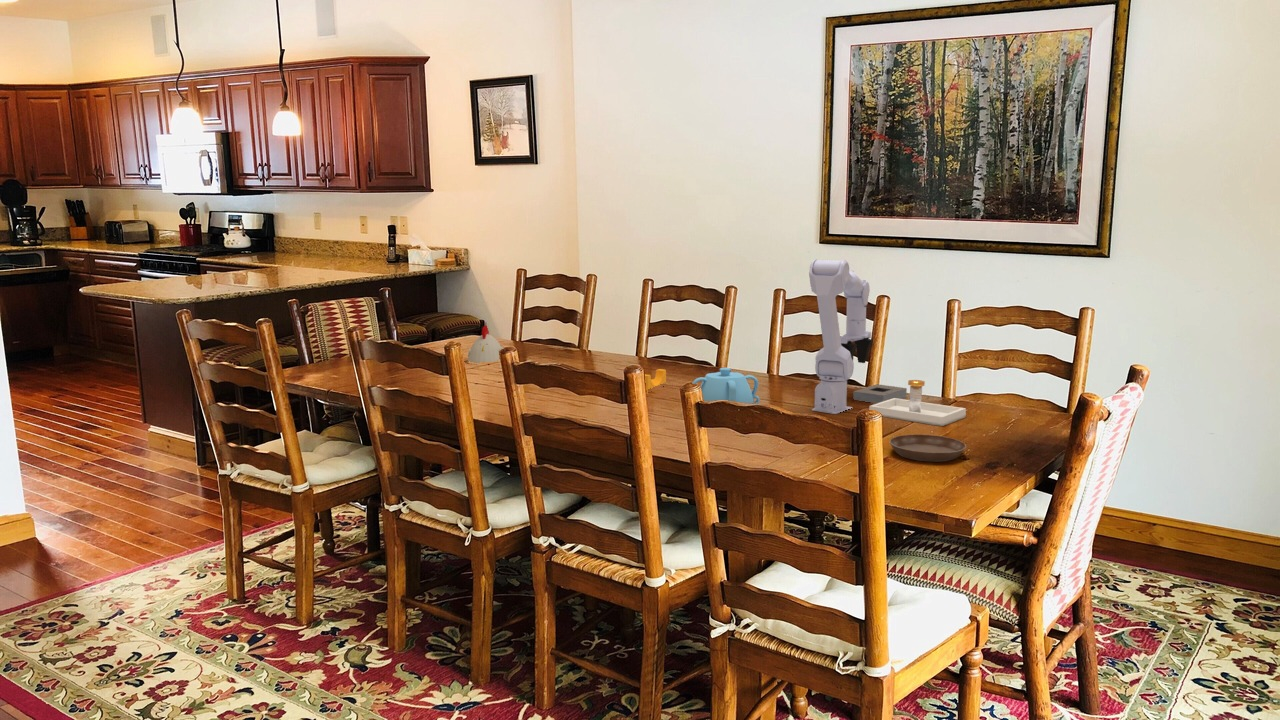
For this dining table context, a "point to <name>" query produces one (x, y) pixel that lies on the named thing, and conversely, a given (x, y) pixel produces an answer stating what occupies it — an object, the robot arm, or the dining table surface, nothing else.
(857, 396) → the block
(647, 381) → the pipe clamp
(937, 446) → the plant saucer
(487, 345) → the kitchen timer
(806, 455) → the dining table surface
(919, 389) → the gold capped clear cylinder
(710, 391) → the decorative pot
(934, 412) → the tray
